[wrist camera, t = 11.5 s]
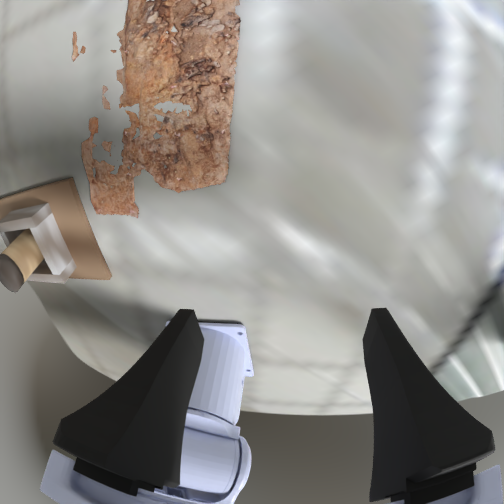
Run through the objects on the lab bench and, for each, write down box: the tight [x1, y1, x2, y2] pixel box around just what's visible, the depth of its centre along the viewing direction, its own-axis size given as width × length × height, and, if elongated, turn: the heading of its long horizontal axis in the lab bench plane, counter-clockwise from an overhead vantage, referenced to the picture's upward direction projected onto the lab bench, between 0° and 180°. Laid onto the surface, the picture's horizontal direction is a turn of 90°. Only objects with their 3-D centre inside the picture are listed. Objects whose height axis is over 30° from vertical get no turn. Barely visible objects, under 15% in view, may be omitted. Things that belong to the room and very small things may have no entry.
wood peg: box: [0, 228, 44, 292], centre depth 19 cm, size 4×4×6 cm
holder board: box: [0, 177, 112, 283], centre depth 21 cm, size 10×14×3 cm
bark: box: [72, 0, 241, 218], centre depth 13 cm, size 22×12×1 cm, turn 0°
